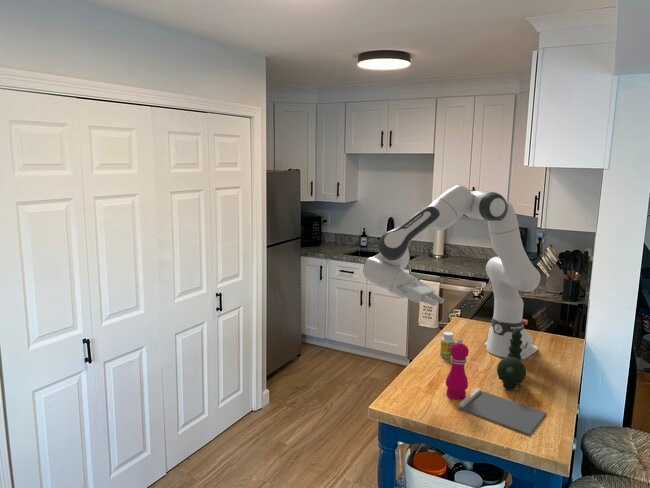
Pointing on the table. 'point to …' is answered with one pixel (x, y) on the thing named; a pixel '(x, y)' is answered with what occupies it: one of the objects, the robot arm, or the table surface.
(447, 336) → the supplement bottle
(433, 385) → the table surface
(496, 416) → the grey rectangular board
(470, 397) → the grey stop strip
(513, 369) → the toy figurine
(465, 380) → the magenta bowling pin
